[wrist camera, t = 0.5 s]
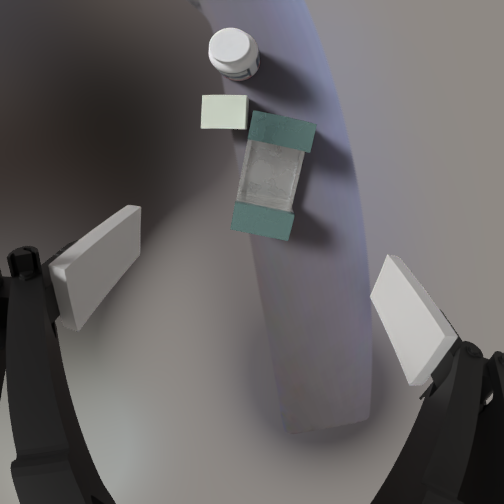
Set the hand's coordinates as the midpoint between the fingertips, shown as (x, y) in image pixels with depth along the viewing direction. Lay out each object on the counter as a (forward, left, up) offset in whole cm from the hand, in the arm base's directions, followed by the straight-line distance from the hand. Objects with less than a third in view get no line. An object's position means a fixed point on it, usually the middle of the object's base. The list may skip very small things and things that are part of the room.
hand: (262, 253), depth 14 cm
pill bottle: (-14, -6, -24) cm, 28 cm away
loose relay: (-7, -6, -24) cm, 26 cm away
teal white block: (-1, 0, -24) cm, 24 cm away
